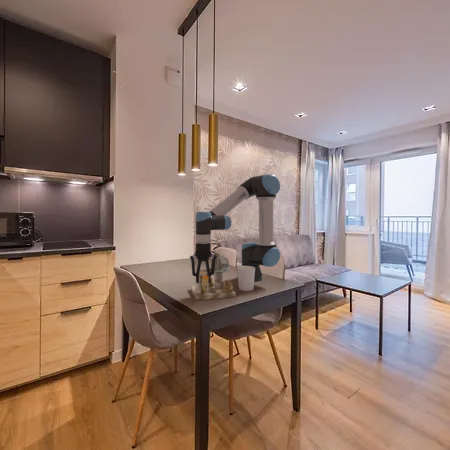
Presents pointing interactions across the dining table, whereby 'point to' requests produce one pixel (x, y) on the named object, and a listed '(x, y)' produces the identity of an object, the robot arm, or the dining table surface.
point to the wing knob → (203, 281)
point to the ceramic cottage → (221, 263)
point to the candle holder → (246, 278)
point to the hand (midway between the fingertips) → (203, 289)
